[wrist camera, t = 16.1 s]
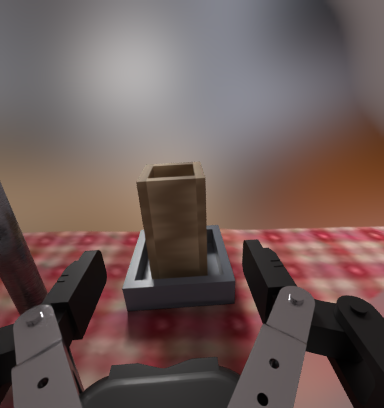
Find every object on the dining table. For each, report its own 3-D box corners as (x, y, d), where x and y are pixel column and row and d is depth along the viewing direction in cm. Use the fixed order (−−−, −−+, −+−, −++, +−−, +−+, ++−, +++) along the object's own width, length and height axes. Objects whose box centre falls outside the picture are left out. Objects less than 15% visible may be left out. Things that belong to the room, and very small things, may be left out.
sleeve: (153, 286, 20) (136, 181, 16) (158, 252, 25) (146, 164, 21) (207, 282, 20) (205, 177, 16) (202, 250, 25) (199, 161, 21)
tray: (127, 311, 18) (122, 288, 17) (144, 247, 27) (141, 229, 26) (234, 303, 19) (235, 280, 18) (218, 242, 27) (218, 225, 26)
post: (23, 329, 17) (-95, 108, 11) (48, 309, 19) (-42, 107, 12) (38, 340, 17) (-81, 106, 10) (63, 318, 18) (-25, 105, 12)
